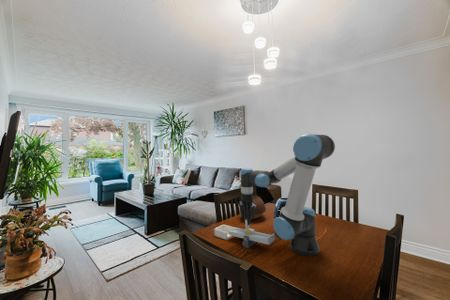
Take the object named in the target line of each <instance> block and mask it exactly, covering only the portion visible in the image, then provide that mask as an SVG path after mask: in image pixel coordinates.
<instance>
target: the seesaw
mask: <svg viewBox="0 0 450 300" xmlns="http://www.w3.org/2000/svg"><path fill="white" fill-rule="evenodd" d="M234 228H235V230H234V231H228V232H229V235H232V236H233V237H237V238H241V239H244V236H248V237H249V240H252V241H256V242H257V243H261V244H264V245H268V246H269V245H270V244H272V243H273V242H274V241H275V239H276V238H275V236H276V235H275V233H271V234H268V233H263V232H259V231H256V230H255V229H254V228H250V230H251V234H250V235H247V234H246V233H245V231H246V230H245V228H239V227H234ZM255 231H256V232H255Z"/></svg>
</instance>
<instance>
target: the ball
mask: <svg viewBox="0 0 450 300" xmlns="http://www.w3.org/2000/svg"><path fill="white" fill-rule="evenodd" d="M250 229H251V228H250ZM250 229H246V231H245V233H246V234H247V235H250V234H251V230H250Z"/></svg>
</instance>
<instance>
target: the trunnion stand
mask: <svg viewBox="0 0 450 300" xmlns="http://www.w3.org/2000/svg"><path fill="white" fill-rule="evenodd" d="M255 232H257V231H256V230H255ZM257 243H258V242H256V241H252V240H249V237H248V236H244V238H243V241H242V247H243V248H245V249H250V248H251V247H253V246H254V245H256V244H257Z"/></svg>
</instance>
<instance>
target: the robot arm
mask: <svg viewBox="0 0 450 300" xmlns="http://www.w3.org/2000/svg"><path fill="white" fill-rule="evenodd" d="M292 146H293V147H292V151H293V154H294V156H293V157H292V158H290V159H289V160H287V161H285V162H283V163H282V164H280V165H279V166H276V167H274V169H272V170H271V171H266V172H259V173H258V172H254V171H253V168H249V167H248V168H246V167H245V168H242V169H241V170H240V199H241V200H240V201H239V202H238V203H237V205H238V206H239V210H240V211H239V212H240V217H241V219H243V223H244V226H245V227H244V229H245V230H246V229H251V228H250V225H251V220H254V219H253V217H254V212H255V208H256V207H257V205H254V204H253V185H255V186H256V187H259V188H266V187H267V186H269V185H271V184H278V183H280V182H281V181H282V180H283V179H284V178H286V177H288V176H290V175H292V174H293V176H292V181H291V184H290V187H289V192H288V195H287V199H286V203H285V206H283V207H281V208H280V210H279V211H280V215H279V217H277V216H275V218H274V219H273V222H272V227H273V230H274V232H275V234H276V235H277V236H278V238H280V239H282V240H284V241H289V240H290V244H289V247H290V250H291V251H292V252H294V253H295V254H297V255H301V256H306V257H314V256H316V255H318V254H319V253H320V245H319V242H318V239H317V236H316V211H315V210H314V209H313V208H310V207H306V206H305V205H306V203H307V199H308V195H309V193H310V190H311V186H312V183H313V180H314V177H315V173H316V170H317V169H318V168H321V165H322V164H323V160H325V159H327V158H330V157H331V156H332V155H333V154H334V153H335V149H336V144H335V141H334V140H333V139H332V137H330V136H329V135H327V134H316V133H315V134H314V133H313V134H312V133H307V134H303V135H300V136H299V137H297V139H296V140H295V142H294V143H293V145H292ZM251 206H252V209H251Z"/></svg>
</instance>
